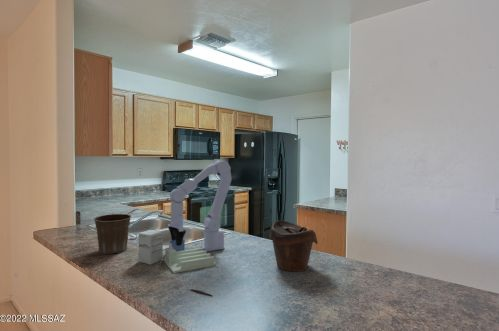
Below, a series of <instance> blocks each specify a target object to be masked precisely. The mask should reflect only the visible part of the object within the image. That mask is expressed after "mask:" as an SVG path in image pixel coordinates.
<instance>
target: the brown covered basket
mask: <svg viewBox="0 0 499 331" xmlns="http://www.w3.org/2000/svg"><path fill="white" fill-rule="evenodd" d="M268 236H269V239H270V240H272V245H273V246H272V247H273V251H274V256H275V262H276V266H277V267H278V268H279V269H281V270H283V271H286V272H302V271H305V270H307V269H308V266H309V260H310V256H311V252H312V249H313V243H315V244H316V245H317V244H318V237H317V233H316V232H315V231H314V229H308V228H307V227H305V226H303V227H302V226H300V225H298V224H294V223H292V222H289V221H285V220H277V221H275V222H274V223H273V224H272V225H271V228H270V232H269V235H268Z"/></svg>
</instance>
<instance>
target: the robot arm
mask: <svg viewBox="0 0 499 331" xmlns="http://www.w3.org/2000/svg"><path fill="white" fill-rule="evenodd" d="M210 175H217V176H218V179H219V180H220V182H219V184H218V188H217V190H216V192H215V196H214V199H213V202H212V204H211V207H210V210H209V211H208V212H207V214H206V216H205V217H204V219H203V221H202V223H203V226H204V232H203V236H204V238H203V245H202V246H200V248H203V251H205V250H206V252H211V251H218V250H224V249H225V233H224V231H223V229H221V220H222V215H221V213H222V210H223V207H224V204H225V200H226V198H227V195H228V192H229V189H230V186H231V184H232V173H231V165H230V164H229V163H228V161H226V160H214V161H213V162H212V163H210V164H208V165H207V166H206V167H205V168H204V169H202V170H201V171H200V172H199V173H198V174H197V175H196V176H194V177H193V178H190V177H189V178H185V179H184V182H183V183H181V184H180V185H178V186H176V188H174V189H172V190H171V192H170V194H169V198H170V200H171V201H170V223H168V224H167V226H168V231H169V233H170V238H171V241H172V240H176V245H177V246H180V245H182V241H183V239H184V236H185V235H186V233H187V230H186V229H184V200H185V198H186V196H188V195H189V194H191V193H192V192H194V190H196V189H197V186H198V184H199V183H200V182H202V181H203V180H205V179H206V178H208V177H209V176H210Z"/></svg>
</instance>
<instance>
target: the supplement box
mask: <svg viewBox="0 0 499 331" xmlns="http://www.w3.org/2000/svg"><path fill="white" fill-rule="evenodd" d="M163 234H164V232H163V231H161V230H160V231H159V230H153V229H148V230H145V231H141V232H139V233H138V252H137V254H138V255H137V256H138V263H142V264H147V265H154V264H156V263H159V262H161V261H163V245H164V243H163V240H164V235H163Z"/></svg>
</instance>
